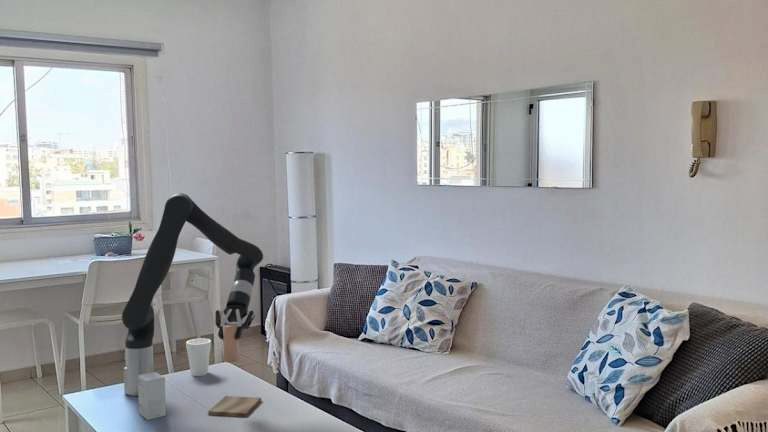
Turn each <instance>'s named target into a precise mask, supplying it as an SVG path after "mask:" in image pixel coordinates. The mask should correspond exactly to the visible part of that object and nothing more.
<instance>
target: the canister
mask: <svg viewBox="0 0 768 432" xmlns="http://www.w3.org/2000/svg"><path fill="white" fill-rule="evenodd" d="M237 327H238V323H230V324H226V325H223V339H222V340H223V341H222V343H223V344H222V345H223V361H224V362H225V363H236V362H239V361H240V349H239V347H240V346H239V345H240V343H239V339H238V340H236V338H235V334H236V330H237Z"/></svg>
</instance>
